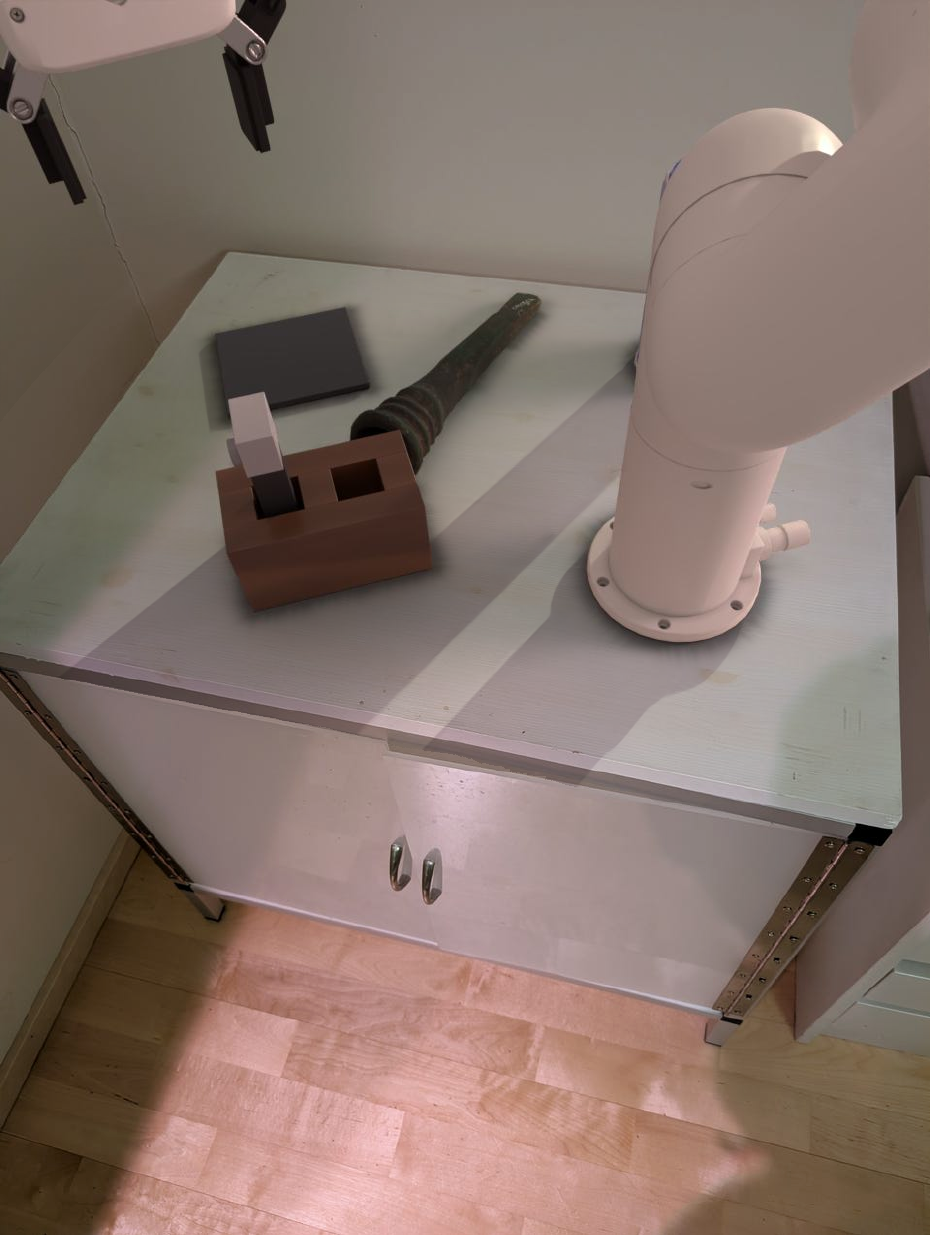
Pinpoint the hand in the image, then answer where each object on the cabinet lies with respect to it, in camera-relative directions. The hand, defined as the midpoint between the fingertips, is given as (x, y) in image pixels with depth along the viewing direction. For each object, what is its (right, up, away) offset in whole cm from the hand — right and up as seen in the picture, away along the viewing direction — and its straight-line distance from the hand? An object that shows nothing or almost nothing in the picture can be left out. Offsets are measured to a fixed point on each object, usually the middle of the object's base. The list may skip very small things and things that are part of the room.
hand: (168, 166), depth 43 cm
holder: (+5, -18, +22) cm, 29 cm away
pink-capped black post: (+2, -19, +22) cm, 29 cm away
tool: (+15, -2, +33) cm, 36 cm away
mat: (-1, +1, +36) cm, 36 cm away
